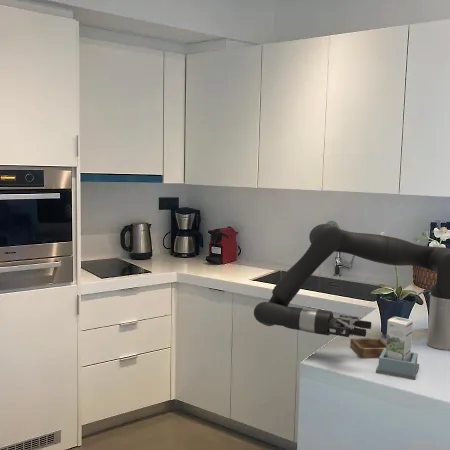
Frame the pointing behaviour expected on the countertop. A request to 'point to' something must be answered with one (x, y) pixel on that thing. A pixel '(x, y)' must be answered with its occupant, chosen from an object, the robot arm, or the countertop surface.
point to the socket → (398, 366)
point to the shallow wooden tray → (368, 347)
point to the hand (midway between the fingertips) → (368, 329)
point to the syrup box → (399, 338)
